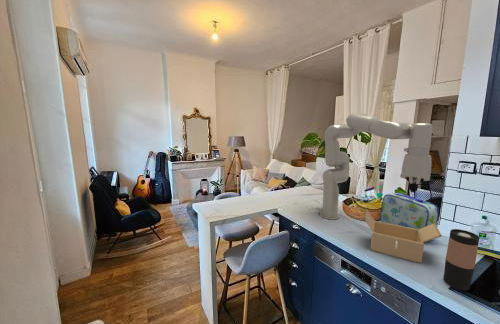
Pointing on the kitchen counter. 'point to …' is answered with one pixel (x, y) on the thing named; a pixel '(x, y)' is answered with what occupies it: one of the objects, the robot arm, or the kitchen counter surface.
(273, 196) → the kitchen counter surface
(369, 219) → the left flap
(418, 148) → the robot arm
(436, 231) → the right flap
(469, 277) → the travel mug
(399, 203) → the lunch box
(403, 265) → the kitchen counter surface
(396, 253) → the carton
